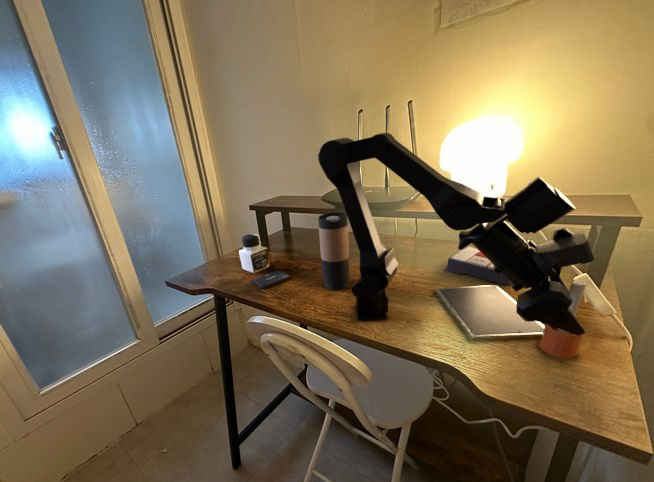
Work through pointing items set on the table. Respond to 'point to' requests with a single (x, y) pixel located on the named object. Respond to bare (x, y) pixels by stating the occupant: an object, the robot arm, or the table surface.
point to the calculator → (475, 266)
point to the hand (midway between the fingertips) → (577, 318)
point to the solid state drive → (270, 279)
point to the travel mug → (334, 250)
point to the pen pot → (559, 342)
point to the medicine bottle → (253, 254)
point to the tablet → (487, 313)
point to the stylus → (575, 298)
